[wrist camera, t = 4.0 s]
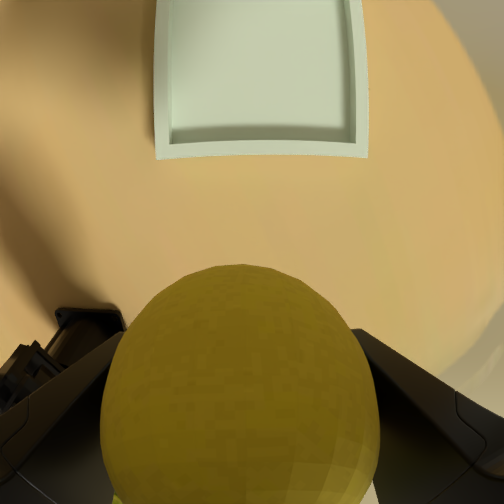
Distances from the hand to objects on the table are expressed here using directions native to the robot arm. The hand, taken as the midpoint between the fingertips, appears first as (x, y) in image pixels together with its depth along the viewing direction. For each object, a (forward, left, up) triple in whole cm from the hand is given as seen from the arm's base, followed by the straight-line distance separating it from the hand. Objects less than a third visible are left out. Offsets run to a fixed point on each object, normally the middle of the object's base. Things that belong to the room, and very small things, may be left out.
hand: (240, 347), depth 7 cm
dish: (+1, +10, -12) cm, 16 cm away
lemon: (0, 0, -2) cm, 2 cm away
